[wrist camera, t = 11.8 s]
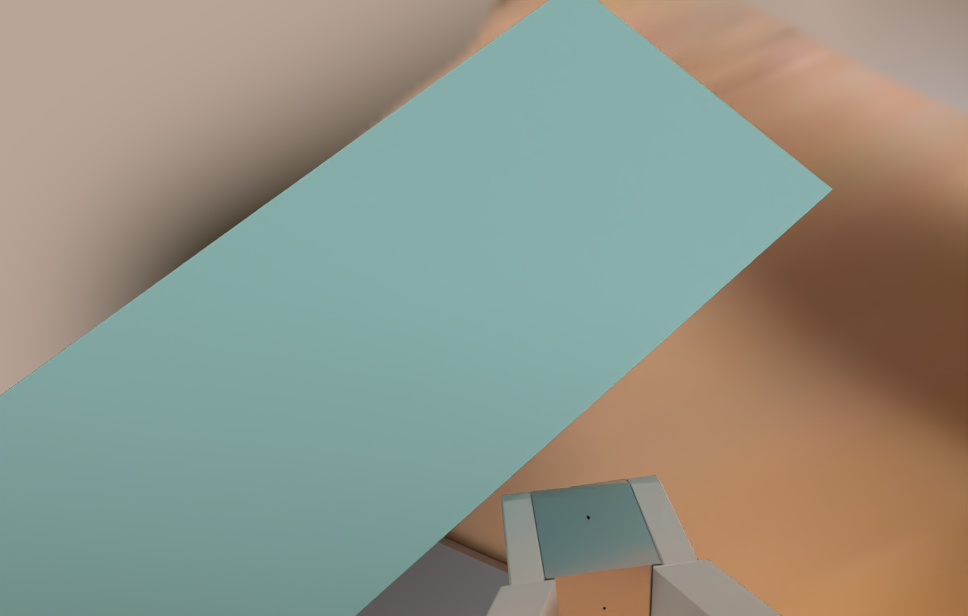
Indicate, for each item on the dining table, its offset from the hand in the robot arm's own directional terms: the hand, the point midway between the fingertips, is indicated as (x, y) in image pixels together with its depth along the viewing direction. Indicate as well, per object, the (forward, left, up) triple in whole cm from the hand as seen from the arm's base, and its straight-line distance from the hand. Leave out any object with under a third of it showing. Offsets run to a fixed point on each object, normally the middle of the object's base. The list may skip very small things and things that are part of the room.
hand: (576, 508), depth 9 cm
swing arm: (-3, +6, -8) cm, 11 cm away
